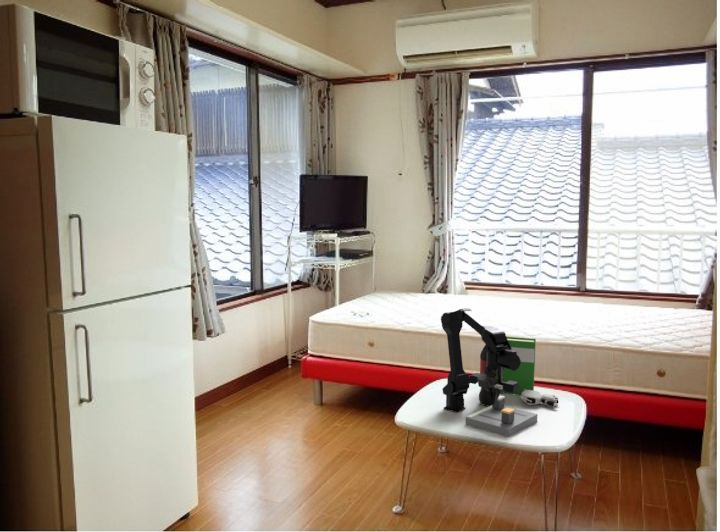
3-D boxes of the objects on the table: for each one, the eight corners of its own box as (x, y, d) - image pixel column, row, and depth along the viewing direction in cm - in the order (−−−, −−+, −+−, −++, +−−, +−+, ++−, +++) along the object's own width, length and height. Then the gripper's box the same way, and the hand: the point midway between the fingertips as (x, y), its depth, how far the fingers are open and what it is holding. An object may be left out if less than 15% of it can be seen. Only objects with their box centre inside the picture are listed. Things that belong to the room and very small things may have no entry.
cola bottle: (503, 406, 248) (506, 334, 245) (486, 408, 245) (488, 336, 242) (491, 399, 256) (494, 330, 252) (474, 402, 252) (476, 331, 249)
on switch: (491, 408, 235) (492, 397, 235) (497, 405, 238) (497, 394, 238) (499, 410, 233) (499, 398, 233) (504, 407, 236) (504, 396, 236)
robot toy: (557, 403, 255) (521, 397, 259) (559, 393, 254) (522, 387, 259) (557, 413, 243) (519, 406, 248) (558, 402, 242) (520, 395, 247)
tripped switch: (500, 422, 220) (501, 410, 220) (506, 419, 223) (507, 407, 223) (508, 424, 218) (509, 412, 218) (514, 421, 221) (514, 409, 221)
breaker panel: (465, 424, 226) (465, 416, 226) (495, 410, 242) (495, 403, 242) (508, 437, 214) (508, 429, 214) (537, 421, 230) (537, 413, 230)
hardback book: (533, 391, 268) (535, 338, 265) (532, 396, 261) (534, 342, 258) (493, 387, 273) (494, 335, 271) (491, 392, 266) (493, 338, 264)
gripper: (461, 363, 223) (460, 404, 225) (506, 373, 211) (504, 416, 212) (477, 358, 231) (476, 397, 233) (521, 367, 219) (520, 408, 220)
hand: (493, 405), depth 224 cm, fingers closed
